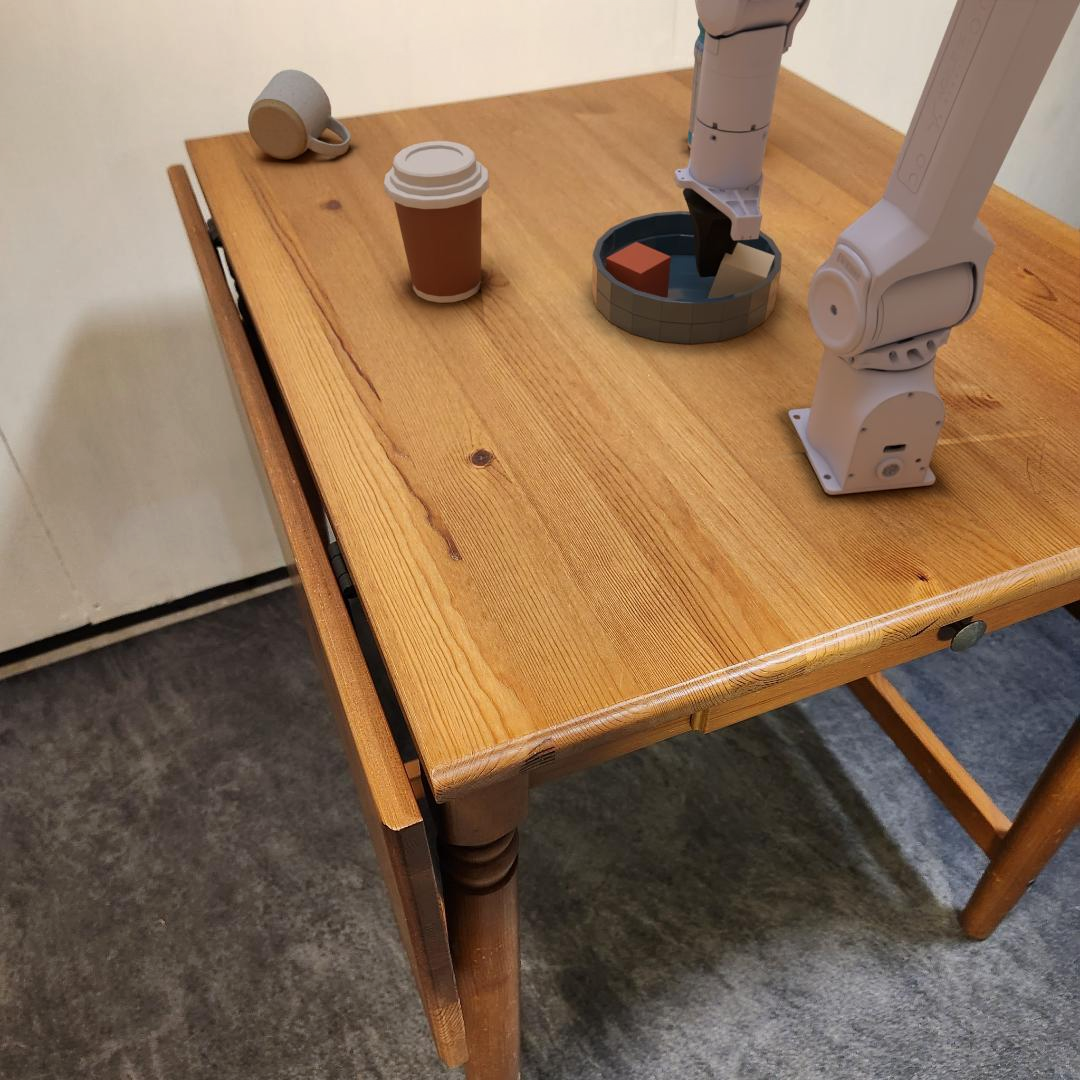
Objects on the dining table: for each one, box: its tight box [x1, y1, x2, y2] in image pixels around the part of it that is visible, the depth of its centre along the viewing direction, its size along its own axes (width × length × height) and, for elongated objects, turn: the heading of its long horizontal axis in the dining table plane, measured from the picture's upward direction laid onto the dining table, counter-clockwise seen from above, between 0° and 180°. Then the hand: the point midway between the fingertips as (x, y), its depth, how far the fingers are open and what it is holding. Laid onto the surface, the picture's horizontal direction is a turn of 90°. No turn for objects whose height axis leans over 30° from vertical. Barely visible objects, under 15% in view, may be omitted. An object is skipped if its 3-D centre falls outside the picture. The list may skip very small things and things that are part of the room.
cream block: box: [708, 243, 775, 299], centre depth 82 cm, size 4×4×4 cm
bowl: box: [591, 210, 783, 345], centre depth 84 cm, size 16×16×4 cm
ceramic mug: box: [247, 69, 352, 160], centre depth 108 cm, size 11×8×8 cm
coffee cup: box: [383, 140, 490, 304], centre depth 84 cm, size 9×9×12 cm
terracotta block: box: [606, 242, 671, 298], centre depth 83 cm, size 4×4×4 cm
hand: (710, 273), depth 82 cm, fingers closed, pressing on cream block
